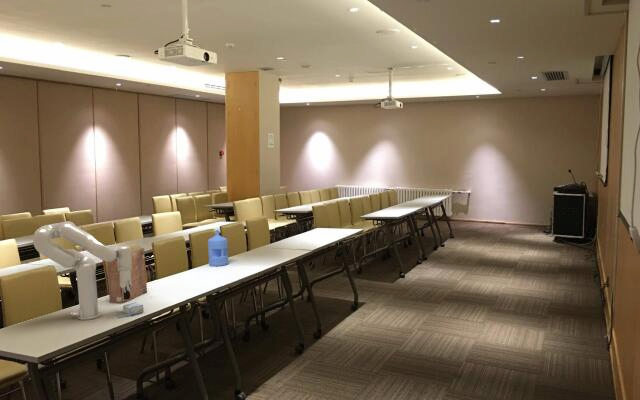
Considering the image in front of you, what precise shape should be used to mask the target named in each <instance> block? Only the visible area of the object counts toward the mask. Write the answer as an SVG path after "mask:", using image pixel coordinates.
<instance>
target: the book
mask: <svg viewBox="0 0 640 400" xmlns="http://www.w3.org/2000/svg"><path fill="white" fill-rule="evenodd" d="M145 255H146V253H145V248H144V247H141V248H133V247H131V258H132V270H130V272H131V287H130V299H126V300H125V299H124V290H123V288H122V287H121V286H120V271H118V259H117V258H116V259H115V260H114V261H112V262H106V266H107V267H106V269H107V279H108V281H107V282H108V284H107V285H108V293H109V295H108V296H109V297H108V298H109V303H110V304H112V303H113V304H124V303H127V302H129V301H132V300H134V299H136V298H138V297H141V296H143V295H146V294H147V293H148V290H147V289H148V287H147V285H148V284H147V274H146V273H147V272H146V257H145Z"/></svg>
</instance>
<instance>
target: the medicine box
mask: <svg viewBox="0 0 640 400" xmlns="http://www.w3.org/2000/svg"><path fill="white" fill-rule="evenodd" d="M122 307H123V309H122V310H123V311H122V313H125V314H129V315H133V316H135V315H134V314H138V313H144V312H145V311H144V304H142V303H138V302H132V303H127V304H124V305H123V306H122Z"/></svg>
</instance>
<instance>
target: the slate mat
mask: <svg viewBox="0 0 640 400" xmlns="http://www.w3.org/2000/svg"><path fill="white" fill-rule="evenodd" d="M141 313H142V312H141ZM141 313H138V314H134V315H129V314H125V313H123V312H120V313H115V316H116V317H117V319H121V318H126V317H127V318H128V317H133V316H139V315H142V314H141Z"/></svg>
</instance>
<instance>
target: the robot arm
mask: <svg viewBox="0 0 640 400" xmlns="http://www.w3.org/2000/svg"><path fill="white" fill-rule="evenodd" d="M61 238H63V239H65V240H67V241H68V242H70V243H73V244H74V245H76V246H78V247H80V248H81V249H84V251H86V252H88V253H89V254H91V255H93V256H95V257H96V258H98V259H100V260H102V261H104V262H106V263H107V262H112V261H114V260H115V259H116V258H117V259H118V271H120V286H121V287H122V288H123V290H124V299H125V300H126V299H130V287H131V272H130V270H132V258H131V248H132V247H131V246H130V245H121V246H107V245H104V244H103V243H101V242H100V241H98V240H97V239H96V238H95V237H94V236H93V235H92V234H91V233H89V232H87V231H85V230H83V229H81V228H79V227H78V226H76V224H75V223H74V222H72V221H69V220H68V221H63V222H62V221H61V222H56V223H52V224H45V225H42V226H40V227H39V228H37V230H35V231H34V234H33V238H32V242H33V243H32V245H33V246H34V248H35V250H36V251H37V252H38V253H40V255H41V256H44V257H45V258H48V259H49V260H51V261H52V262H54V263H56V264H58V265H60V266H62V267H63V268H65V269H73V270H75V271H76V273H75V274H76V281H77V290H78V294H77V295H78V305H79V308H78V310H76V311H71V312H70V316H71V317H72V316H73V317H75V316H76V317H77V319H78V320H83V321H84V320H85V321H86V320H88V321H89V320H93V319H96V318H100V317H101V316H102V312H101V311H99V302H98V301H99V300H98V287H97V276H96V275H97V274H96V270H97V263H96V261H95V260H93V259H92V258H90V257H89V256H87V255H85V254H83V253H82V252H79V251H78V250H76V249H72V248H67V249H66V248H65V247H63V246H61V245H59V244H58V243H56V242H54V241H52V240H55V239H61Z"/></svg>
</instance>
